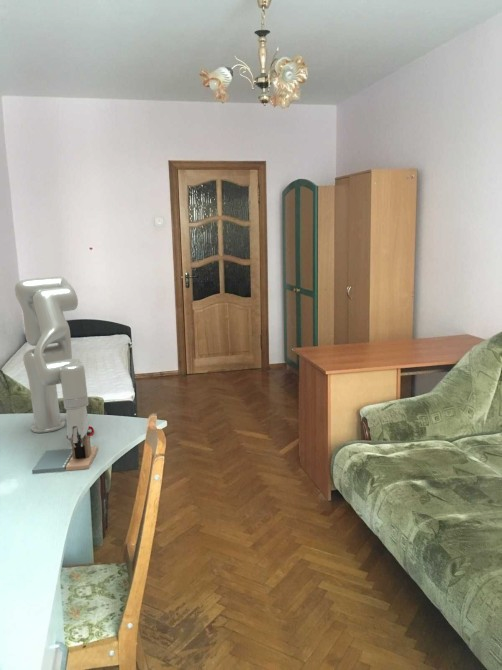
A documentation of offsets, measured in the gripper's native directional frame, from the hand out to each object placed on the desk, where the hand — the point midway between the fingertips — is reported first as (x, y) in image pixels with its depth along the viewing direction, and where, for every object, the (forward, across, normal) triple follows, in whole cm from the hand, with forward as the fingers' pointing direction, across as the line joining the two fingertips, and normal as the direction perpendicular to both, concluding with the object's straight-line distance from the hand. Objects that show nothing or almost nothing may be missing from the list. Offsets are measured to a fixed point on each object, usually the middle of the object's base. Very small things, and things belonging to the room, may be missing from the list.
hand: (82, 454), depth 181 cm
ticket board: (+2, 0, -9) cm, 9 cm away
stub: (+2, 0, 0) cm, 2 cm away
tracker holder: (+2, -21, -6) cm, 22 cm away
